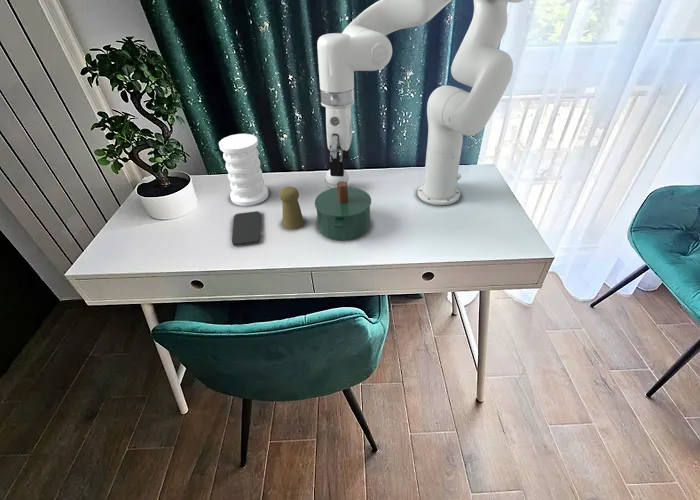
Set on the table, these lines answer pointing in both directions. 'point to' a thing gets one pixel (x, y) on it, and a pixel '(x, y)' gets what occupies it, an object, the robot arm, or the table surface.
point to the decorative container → (244, 169)
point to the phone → (246, 228)
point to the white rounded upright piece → (335, 179)
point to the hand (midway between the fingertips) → (340, 166)
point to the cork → (291, 208)
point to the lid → (342, 201)
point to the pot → (344, 226)
